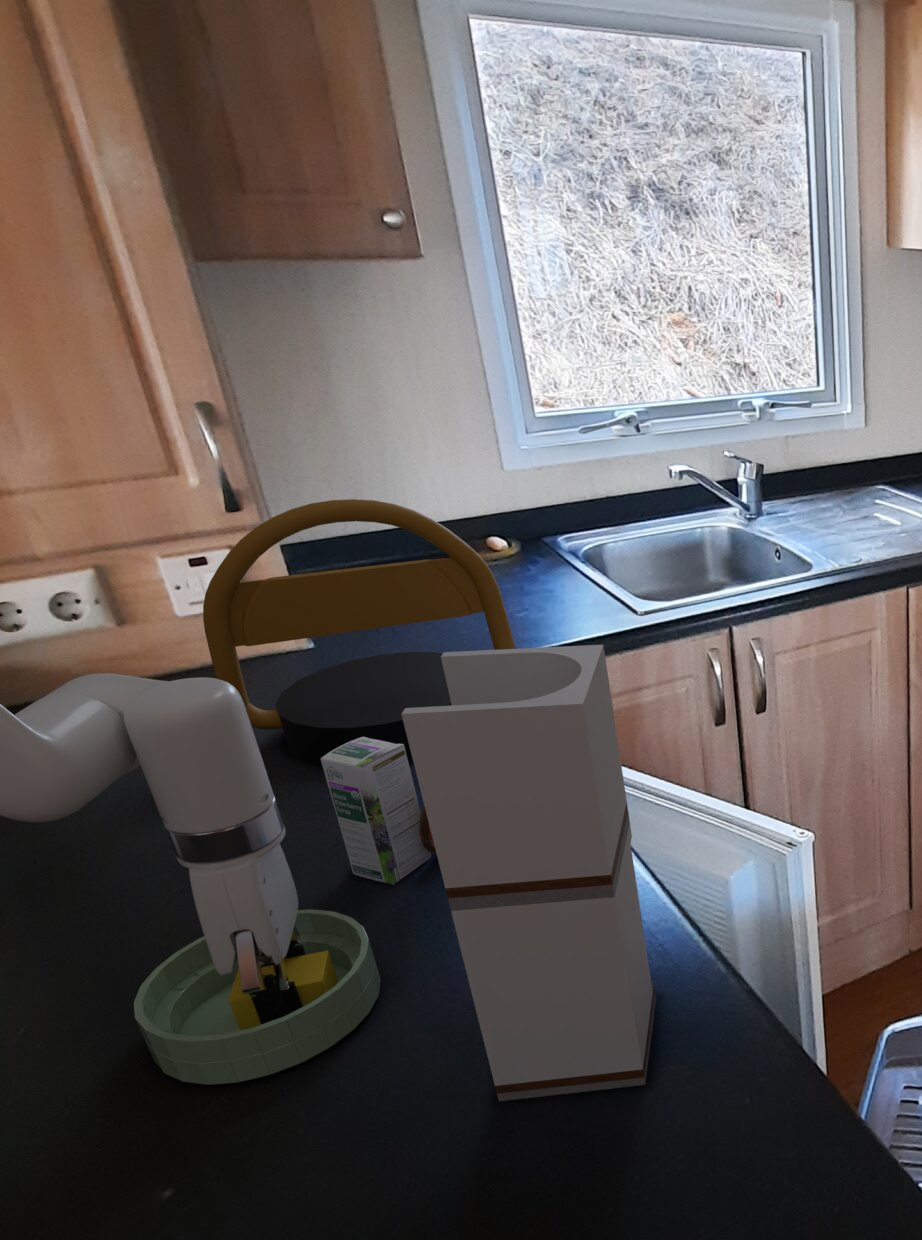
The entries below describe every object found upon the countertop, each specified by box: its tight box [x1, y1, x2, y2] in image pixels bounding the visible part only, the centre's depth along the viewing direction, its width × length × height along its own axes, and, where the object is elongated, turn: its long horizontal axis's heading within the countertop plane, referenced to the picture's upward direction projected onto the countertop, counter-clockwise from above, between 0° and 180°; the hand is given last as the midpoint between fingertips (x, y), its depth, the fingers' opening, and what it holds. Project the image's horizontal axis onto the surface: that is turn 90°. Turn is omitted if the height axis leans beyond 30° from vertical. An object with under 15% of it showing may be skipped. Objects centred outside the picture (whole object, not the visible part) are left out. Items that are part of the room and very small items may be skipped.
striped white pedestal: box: [402, 644, 657, 1102], centre depth 82 cm, size 11×11×35 cm
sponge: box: [229, 951, 338, 1030], centre depth 92 cm, size 7×4×4 cm, turn 112°
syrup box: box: [321, 737, 432, 885], centre depth 111 cm, size 6×6×14 cm
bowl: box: [133, 908, 382, 1086], centre depth 92 cm, size 17×17×6 cm
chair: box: [202, 498, 517, 768], centre depth 136 cm, size 25×35×32 cm
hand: (289, 1002), depth 93 cm, fingers closed on sponge, 4 cm apart
